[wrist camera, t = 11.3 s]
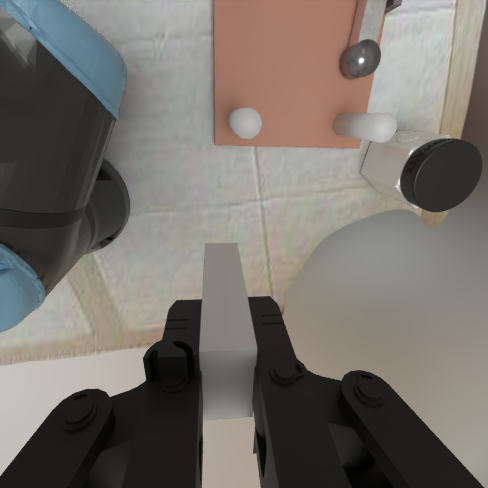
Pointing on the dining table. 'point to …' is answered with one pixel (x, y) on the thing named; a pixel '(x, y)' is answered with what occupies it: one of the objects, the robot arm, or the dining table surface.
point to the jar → (423, 169)
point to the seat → (291, 76)
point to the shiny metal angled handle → (364, 40)
